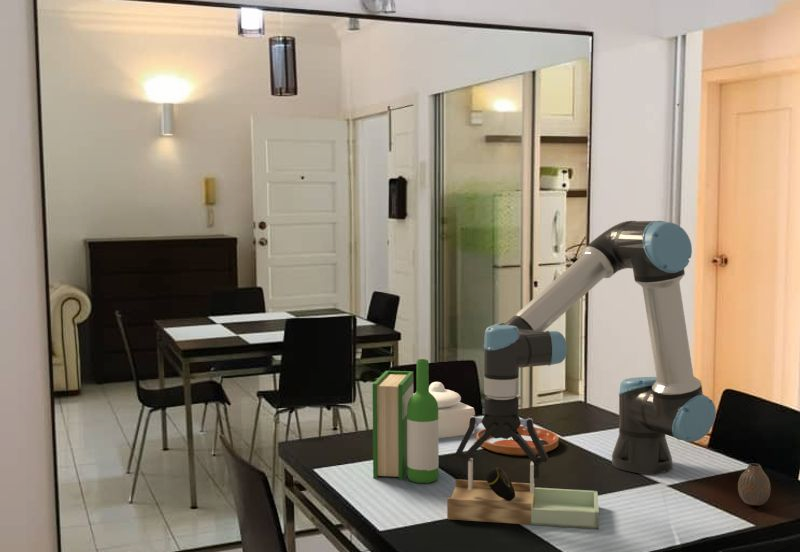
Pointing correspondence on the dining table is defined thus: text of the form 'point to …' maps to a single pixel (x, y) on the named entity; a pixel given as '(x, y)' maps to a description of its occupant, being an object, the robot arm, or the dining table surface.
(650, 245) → the robot arm
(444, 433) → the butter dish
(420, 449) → the wine bottle
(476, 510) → the wooden tray
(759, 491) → the vase
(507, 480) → the tape measure
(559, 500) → the tray
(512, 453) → the saucer
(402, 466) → the hardback book
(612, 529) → the dining table surface
